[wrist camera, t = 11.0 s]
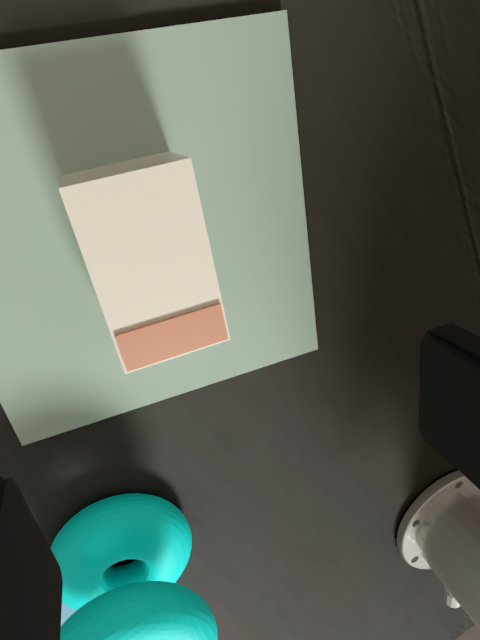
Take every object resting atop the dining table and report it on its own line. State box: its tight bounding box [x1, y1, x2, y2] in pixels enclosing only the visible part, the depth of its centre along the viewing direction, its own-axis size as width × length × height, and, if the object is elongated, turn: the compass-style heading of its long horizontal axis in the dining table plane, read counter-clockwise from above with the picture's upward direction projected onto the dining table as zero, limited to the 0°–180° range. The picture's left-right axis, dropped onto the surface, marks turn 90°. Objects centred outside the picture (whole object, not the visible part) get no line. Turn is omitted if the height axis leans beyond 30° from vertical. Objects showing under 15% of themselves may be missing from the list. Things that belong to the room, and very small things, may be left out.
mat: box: [0, 10, 318, 446], centre depth 25 cm, size 20×20×1 cm
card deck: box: [58, 151, 231, 374], centre depth 22 cm, size 6×9×5 cm, turn 11°
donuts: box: [50, 493, 217, 640], centre depth 29 cm, size 10×10×10 cm
